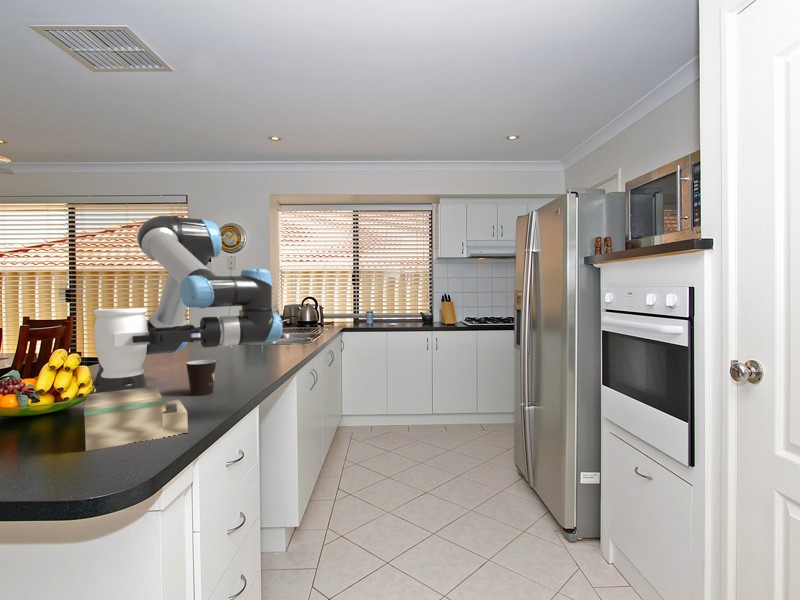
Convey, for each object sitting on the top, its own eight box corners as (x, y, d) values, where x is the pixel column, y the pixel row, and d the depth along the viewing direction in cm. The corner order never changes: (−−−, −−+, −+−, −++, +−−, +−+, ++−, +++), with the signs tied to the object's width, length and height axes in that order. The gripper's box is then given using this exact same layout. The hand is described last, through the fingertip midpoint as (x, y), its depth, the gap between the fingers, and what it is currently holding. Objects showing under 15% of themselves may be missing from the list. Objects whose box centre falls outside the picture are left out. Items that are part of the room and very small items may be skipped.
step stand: (179, 418, 114) (178, 383, 113) (187, 433, 102) (186, 394, 101) (87, 433, 103) (86, 394, 103) (85, 451, 91) (83, 407, 91)
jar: (100, 373, 103) (98, 308, 103) (151, 369, 108) (149, 307, 107) (90, 381, 94) (88, 310, 93) (147, 376, 98) (145, 308, 98)
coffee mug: (205, 397, 137) (204, 364, 136) (180, 396, 138) (180, 363, 138) (227, 388, 148) (227, 358, 148) (204, 387, 150) (203, 358, 149)
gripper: (229, 351, 102) (115, 361, 90) (209, 342, 121) (113, 349, 109) (229, 318, 102) (114, 323, 90) (209, 314, 121) (112, 318, 109)
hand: (113, 338), depth 100 cm, fingers closed on jar, 10 cm apart
